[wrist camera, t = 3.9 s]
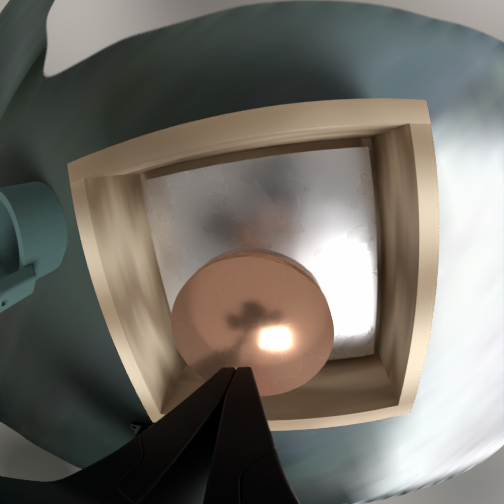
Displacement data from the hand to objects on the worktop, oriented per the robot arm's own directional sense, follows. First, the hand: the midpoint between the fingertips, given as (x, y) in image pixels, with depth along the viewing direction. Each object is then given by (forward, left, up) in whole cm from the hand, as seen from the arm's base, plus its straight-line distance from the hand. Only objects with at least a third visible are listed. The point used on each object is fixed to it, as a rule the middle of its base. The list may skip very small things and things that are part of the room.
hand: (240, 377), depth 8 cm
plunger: (0, 0, -11) cm, 11 cm away
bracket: (+5, +20, -11) cm, 23 cm away
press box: (0, 0, -11) cm, 11 cm away
